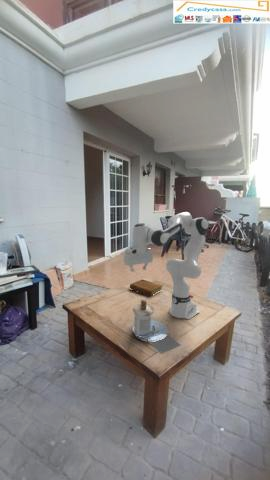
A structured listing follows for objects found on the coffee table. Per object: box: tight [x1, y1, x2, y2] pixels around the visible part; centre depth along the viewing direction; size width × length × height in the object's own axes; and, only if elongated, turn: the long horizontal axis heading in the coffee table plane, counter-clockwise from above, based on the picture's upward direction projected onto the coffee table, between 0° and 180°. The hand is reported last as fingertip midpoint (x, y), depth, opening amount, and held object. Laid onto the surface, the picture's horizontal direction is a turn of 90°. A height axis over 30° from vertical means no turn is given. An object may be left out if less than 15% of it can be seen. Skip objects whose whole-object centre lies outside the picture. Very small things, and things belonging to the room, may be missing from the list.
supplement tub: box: [133, 313, 152, 338], centre depth 128 cm, size 10×10×15 cm
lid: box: [132, 299, 155, 316], centre depth 126 cm, size 12×12×6 cm
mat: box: [147, 334, 181, 354], centre depth 121 cm, size 14×14×1 cm
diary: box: [129, 279, 163, 297], centre depth 196 cm, size 23×19×6 cm
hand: (138, 270), depth 139 cm, fingers open, 8 cm apart
